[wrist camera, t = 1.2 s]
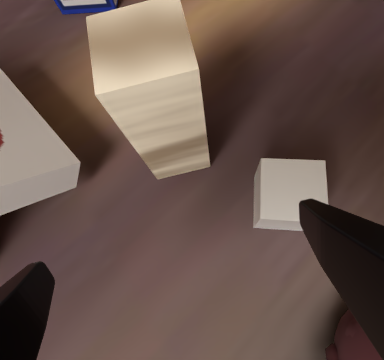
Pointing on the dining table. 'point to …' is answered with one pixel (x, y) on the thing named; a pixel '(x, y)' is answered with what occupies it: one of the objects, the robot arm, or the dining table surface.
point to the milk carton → (85, 6)
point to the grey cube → (286, 191)
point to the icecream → (351, 342)
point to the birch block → (151, 83)
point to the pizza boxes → (30, 153)
